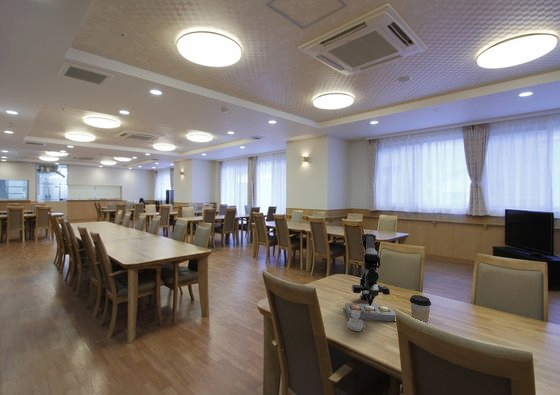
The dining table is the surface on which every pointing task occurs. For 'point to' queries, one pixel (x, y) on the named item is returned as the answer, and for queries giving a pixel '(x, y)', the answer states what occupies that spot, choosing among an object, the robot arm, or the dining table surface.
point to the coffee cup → (420, 307)
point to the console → (371, 312)
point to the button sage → (369, 308)
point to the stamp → (355, 321)
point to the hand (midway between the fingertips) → (369, 305)
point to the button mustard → (384, 309)
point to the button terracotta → (355, 307)
